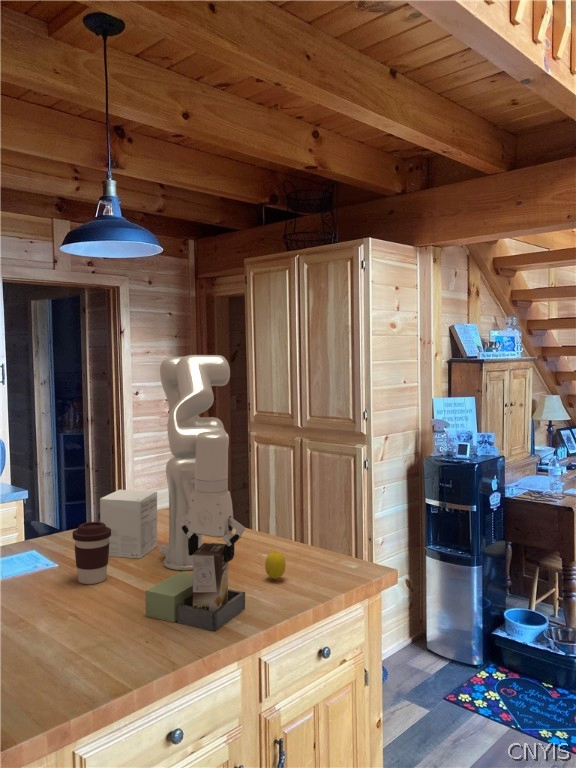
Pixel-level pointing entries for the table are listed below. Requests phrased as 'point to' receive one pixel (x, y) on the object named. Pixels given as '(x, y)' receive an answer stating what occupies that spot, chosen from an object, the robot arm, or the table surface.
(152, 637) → the table surface
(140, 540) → the supplement box
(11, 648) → the table surface
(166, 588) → the sage green box
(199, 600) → the coffee box
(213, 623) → the frame
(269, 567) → the lemon
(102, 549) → the coffee cup
